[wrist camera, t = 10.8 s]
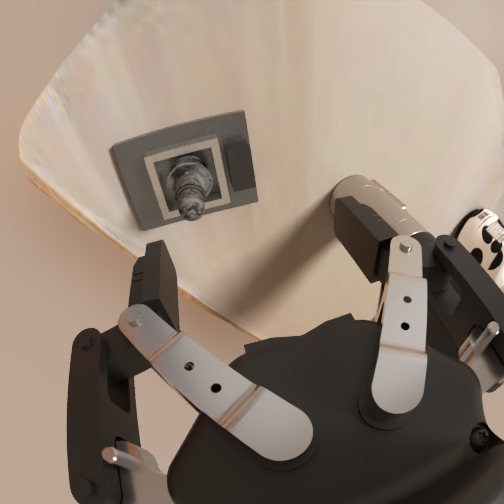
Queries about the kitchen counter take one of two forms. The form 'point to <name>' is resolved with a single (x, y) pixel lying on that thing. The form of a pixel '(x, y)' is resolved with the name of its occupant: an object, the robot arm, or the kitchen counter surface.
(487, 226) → the milk container
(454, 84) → the kitchen counter surface
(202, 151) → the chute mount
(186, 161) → the grey chess piece
